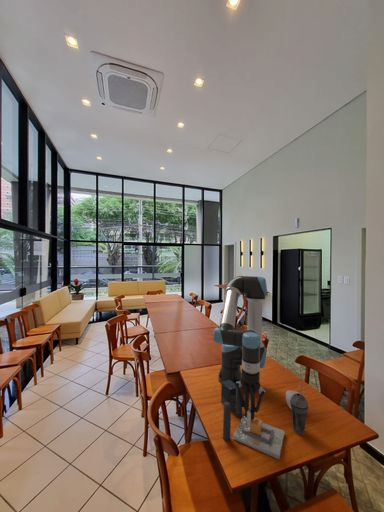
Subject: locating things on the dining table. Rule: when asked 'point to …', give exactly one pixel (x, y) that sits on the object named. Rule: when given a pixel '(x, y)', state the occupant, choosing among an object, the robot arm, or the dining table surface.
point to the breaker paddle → (256, 426)
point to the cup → (289, 397)
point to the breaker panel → (261, 438)
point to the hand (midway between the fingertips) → (249, 425)
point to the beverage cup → (299, 412)
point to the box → (228, 393)
